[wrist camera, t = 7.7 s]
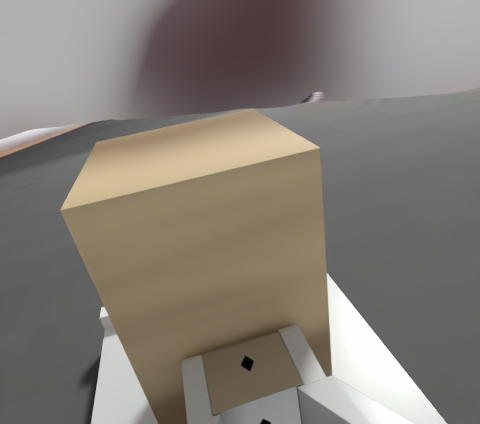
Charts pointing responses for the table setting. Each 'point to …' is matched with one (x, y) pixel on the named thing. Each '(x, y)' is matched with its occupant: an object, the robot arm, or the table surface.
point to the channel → (342, 358)
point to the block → (203, 243)
